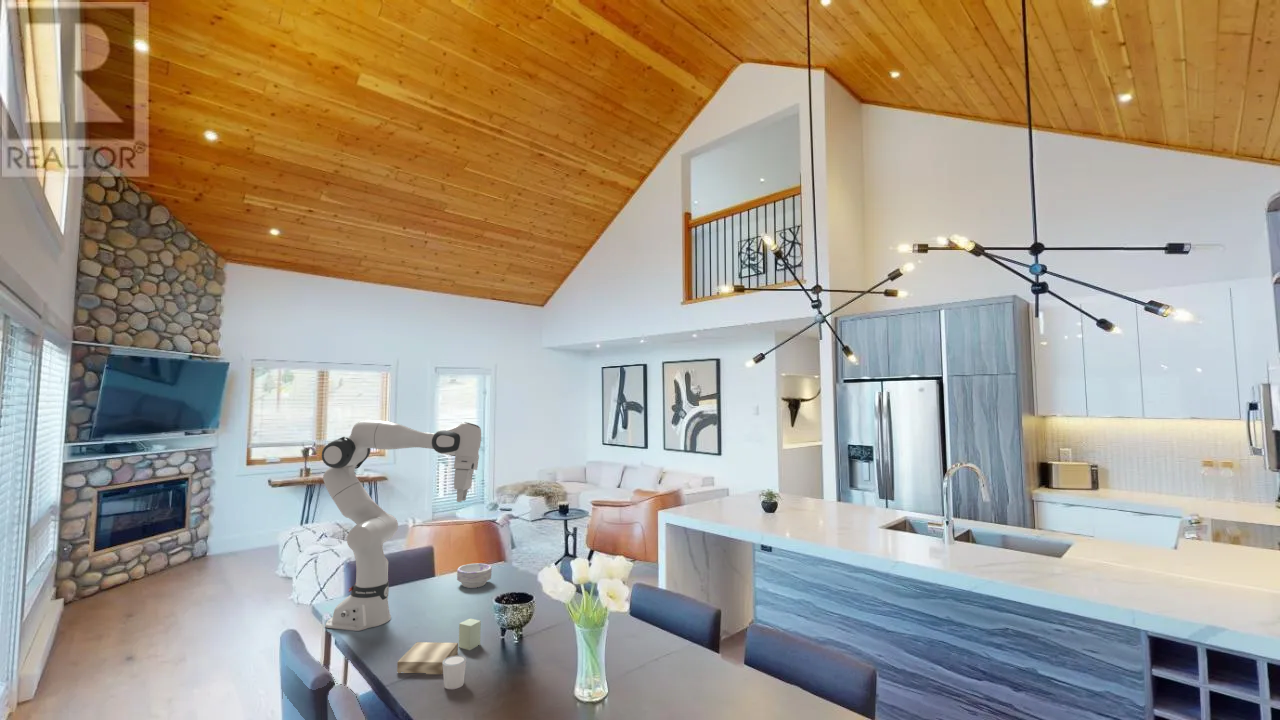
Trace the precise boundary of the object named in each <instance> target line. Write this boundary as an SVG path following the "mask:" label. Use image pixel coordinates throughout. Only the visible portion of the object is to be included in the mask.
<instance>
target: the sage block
mask: <svg viewBox="0 0 1280 720" xmlns="http://www.w3.org/2000/svg"><path fill="white" fill-rule="evenodd" d="M481 623H482V621H481V620H479V619H475V618H468V619H465V620H463V621H461V622H459V623H458V624H459V625H458V626H459V627H458V629H459V630H458V648H459V647H460V648H459V649H463V650H467V651H471V650H473V649H475V648H477V647H479V646H480V645H481ZM478 645H479V646H478Z"/></svg>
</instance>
